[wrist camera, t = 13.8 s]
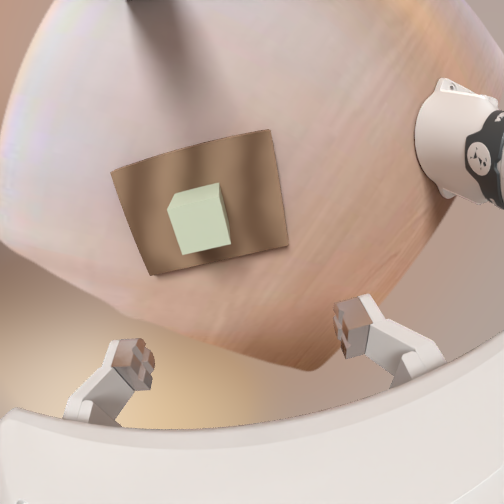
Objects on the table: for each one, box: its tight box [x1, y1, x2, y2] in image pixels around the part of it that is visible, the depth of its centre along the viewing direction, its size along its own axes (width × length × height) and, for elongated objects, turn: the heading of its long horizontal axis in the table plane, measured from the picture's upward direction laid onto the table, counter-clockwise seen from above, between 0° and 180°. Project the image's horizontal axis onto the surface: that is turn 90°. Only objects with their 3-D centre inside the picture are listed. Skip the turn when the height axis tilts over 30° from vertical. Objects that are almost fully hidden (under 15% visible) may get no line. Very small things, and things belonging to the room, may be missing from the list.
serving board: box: [111, 129, 289, 276], centre depth 30 cm, size 18×14×2 cm
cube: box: [167, 183, 231, 255], centre depth 28 cm, size 5×5×5 cm
